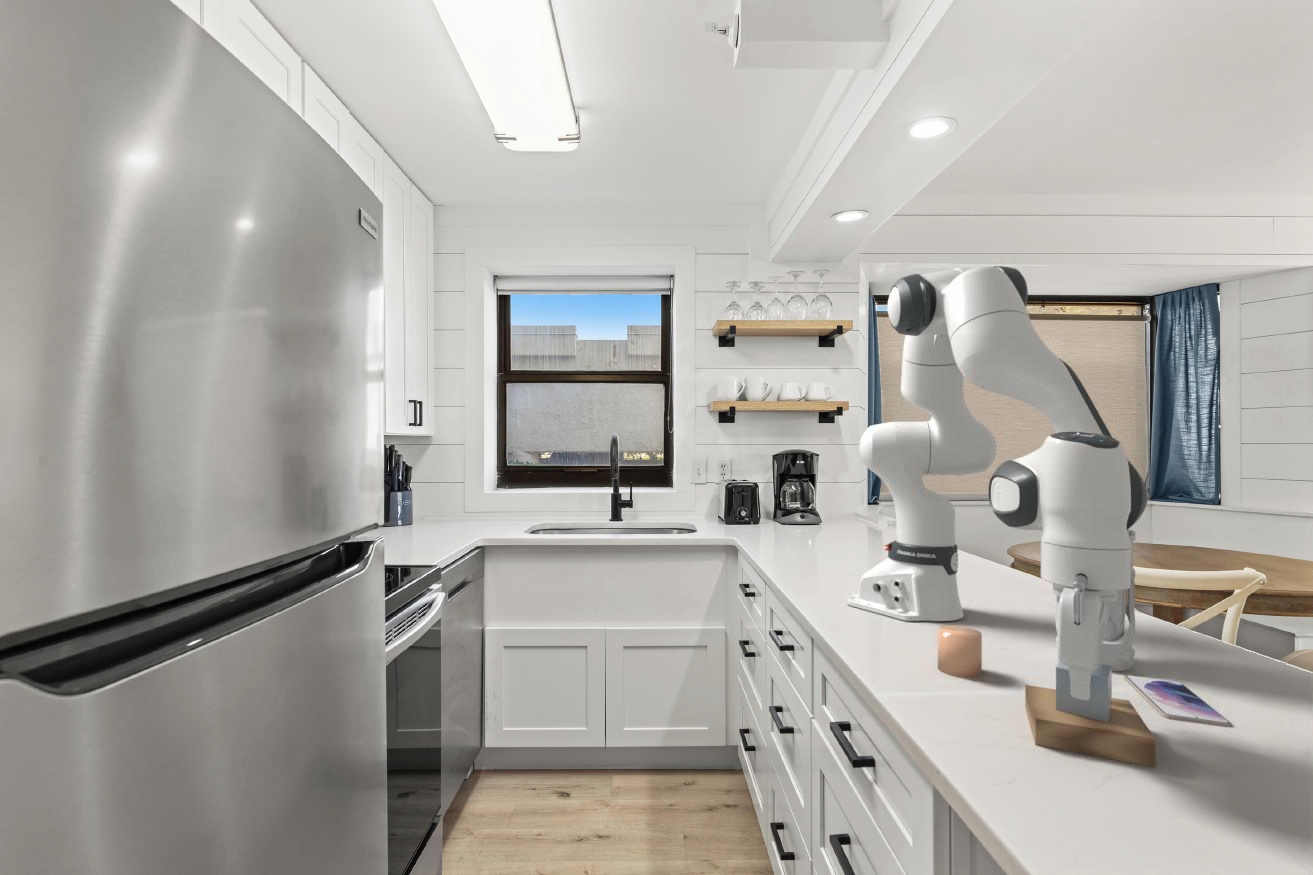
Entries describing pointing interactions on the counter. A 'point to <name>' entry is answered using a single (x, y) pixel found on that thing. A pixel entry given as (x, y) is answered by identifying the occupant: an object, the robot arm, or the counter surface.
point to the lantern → (1118, 626)
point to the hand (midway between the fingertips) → (1083, 684)
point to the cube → (1099, 696)
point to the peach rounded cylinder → (960, 651)
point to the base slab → (1090, 729)
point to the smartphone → (1175, 701)
